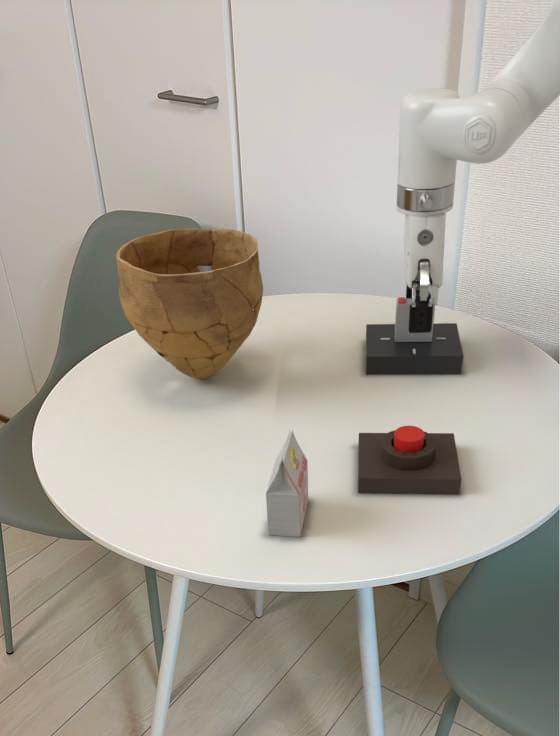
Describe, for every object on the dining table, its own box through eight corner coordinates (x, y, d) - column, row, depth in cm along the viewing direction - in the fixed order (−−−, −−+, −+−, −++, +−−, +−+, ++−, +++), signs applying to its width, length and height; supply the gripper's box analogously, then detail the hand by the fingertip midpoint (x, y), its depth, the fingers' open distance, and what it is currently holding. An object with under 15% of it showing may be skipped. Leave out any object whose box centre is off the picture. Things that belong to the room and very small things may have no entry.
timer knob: (430, 335, 115) (434, 296, 111) (431, 341, 113) (435, 301, 109) (394, 336, 116) (396, 297, 112) (394, 342, 114) (397, 302, 110)
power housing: (451, 447, 97) (455, 420, 95) (459, 494, 90) (463, 466, 87) (358, 446, 99) (359, 420, 96) (357, 492, 91) (358, 465, 89)
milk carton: (268, 534, 86) (263, 462, 80) (278, 499, 91) (274, 428, 85) (300, 537, 86) (298, 464, 79) (308, 501, 91) (306, 430, 84)
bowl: (116, 368, 120) (91, 241, 107) (229, 335, 126) (218, 211, 113) (168, 426, 105) (146, 287, 93) (293, 385, 112) (288, 250, 99)
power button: (422, 437, 93) (423, 425, 92) (424, 453, 90) (425, 441, 89) (393, 437, 93) (393, 425, 92) (393, 453, 91) (394, 441, 90)
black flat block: (454, 340, 120) (456, 322, 118) (461, 374, 112) (463, 354, 109) (365, 341, 122) (366, 323, 119) (365, 374, 113) (366, 355, 111)
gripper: (460, 215, 94) (448, 342, 105) (448, 176, 107) (439, 293, 118) (399, 218, 95) (394, 344, 106) (394, 179, 108) (390, 295, 119)
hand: (418, 317), depth 112 cm, fingers open, 9 cm apart
